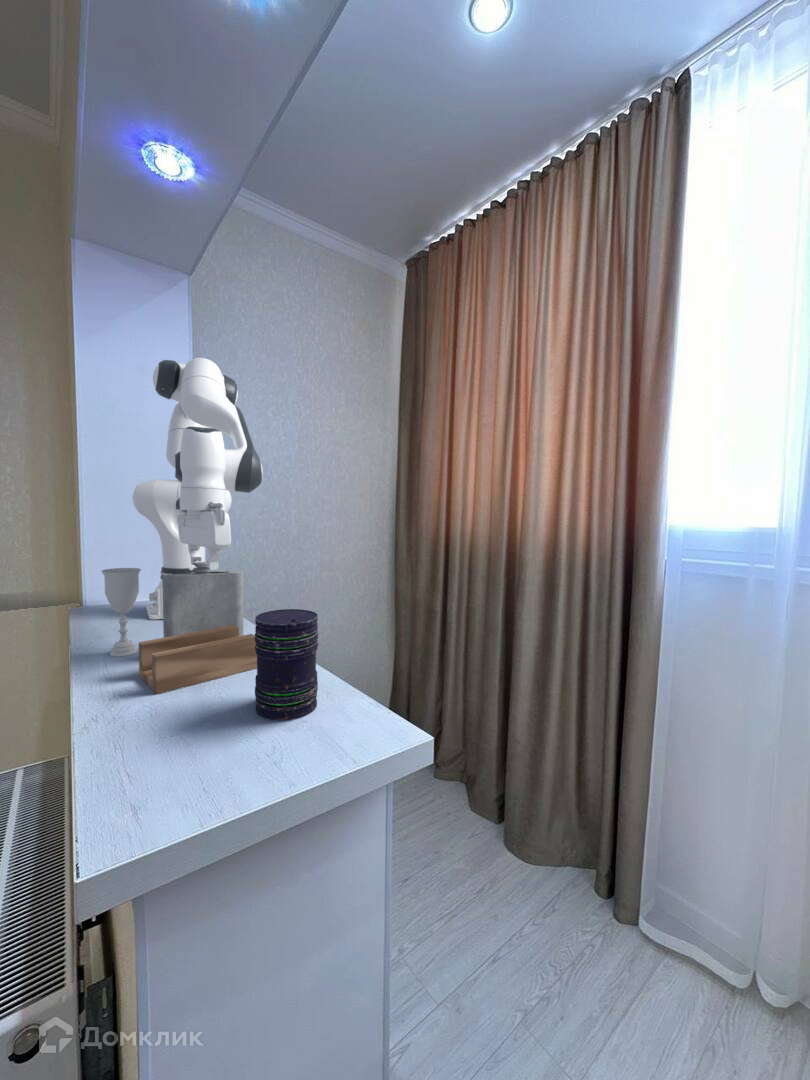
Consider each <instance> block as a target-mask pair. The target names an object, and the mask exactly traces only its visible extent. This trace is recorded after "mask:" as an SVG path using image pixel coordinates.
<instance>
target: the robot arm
mask: <svg viewBox="0 0 810 1080" xmlns="http://www.w3.org/2000/svg"><path fill="white" fill-rule="evenodd" d="M152 381H153V386H154V390H155V392H156V393H157V395H159V396H160V397H162V398H164V399H167V400H172V401H176V402H178V403H177V404H175V406H174V408H173V411H172V413H171V417H170V420H169V425H168V431H167V441H166V442H167V443H166V452H165V457H166V459H167V462H168V463H169V465H171V467H173V468H174V469H175V472H174V478H176V479H154V480H153V479H151V480H146V481H141V482H139V483H138V484H137V485H136V487H135V488H134V490H133V492H132V504H133V506H134V509H135V510H136V511H137V512H138V513H139V514H140V515H141V516H143V517H144V518H146V519H147V520H148V521H149V522H150V523H151V524H152V525H153V527H154V528H155V530H156V532H157V534H158V536H159V539H160V542H161V544H160V545H161V551H162V567H161V571H160V576H159V577H160V581H159V583H158V585H157V586H156V588H155V590H154V591H153V592H150V593H149V595H148V600H149V601H150V602H153V604H149V605H148V604H147V605H146V606H145V607H146V608H145V610H146V614H147V617H148V619H149V620H163V579H162V576H164V575H173V574H185V573H197V572H196V568H197V567H195V562H207V568H208V569H210V570H219V560H220V558H221V555H222V550H223V549H230V547H231V544H232V531H231V529H232V528H231V521H230V515H229V513H228V512H229V511H230V510H231V506H232V502H233V499H232V494H231V492H230V491H233V492H234V491H235V492H238V493H239V492H240V493H247V494H249V493H251V492H253V491H254V490H256V489H257V488H258V487H260V485H261V484H262V482H263V481H262V480H263V475H264V471H263V464H262V462H261V459H260V456H259V455H258V453H257V451H256V449H255V446H254V443H253V440H252V437H251V435H250V431H249V428H248V425H247V422H246V419H245V417H244V415H243V413H242V410H241V409H240V407H238V406H236V404H237V401H238V400H239V399H238V397H239V391H238V384H237V383H236V381H235V380H234V379H233V378H231V377H229V376H228V375H225V374H223V373H222V371H221V369H220V367H219V366H218V365H217V363H215V362H214V361H212V360H211V359H208V358H205V357H195V358H194V357H193V358H192V359H190V360H188V362H187V363H182V362H176V360H172V359H171V360H170V359H163V360H161V361H159V362H158V364H157V365H156V366H155V369H154V370H153V373H152ZM223 434H225V435H227V436H228V437H230V438H231V441H232V445H233V447H234V449H226V448H225V442H224V437H223ZM206 548H207V549H208V550H207V551H208V560H206Z"/></svg>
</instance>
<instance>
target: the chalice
mask: <svg viewBox="0 0 810 1080" xmlns="http://www.w3.org/2000/svg"><path fill="white" fill-rule="evenodd" d="M141 570H142V569H141V568H138V567H119V568H118V567H116V568H107V569H106V568H105V569H102V570H101V573H102V575H103V576H104V594H105V597H106V599H107V601H108V603H109V605H110V606H111V608H112V609H113V611H114V612H115V613H117V614H119V617H120V618H119V621H118V624H119V625H120V626H119V627H120V628H119V630H118V633H120V638H119V640H118V641H116V642H115V643H114V644H113V645H112V646H113V647H112V648H111V652H110V653H109V656H110V657H126V656H130V655H134V654H136V653H137V652H138V649H137V648H136V645H135V644H134V643H135V642H133V641H132V640H129V639H128V638H127V632H128V631H129V629H128V628H127V627H126V625H127V623H128V620H127V618H126V615H127V613H129V612H131V610H132V609H133V606H134V604H135V602H136V601H137V599H138V598H137V597H138V595H139V592H140V584H139V583H140V582H139V578H140V577H139V574H140V572H141Z"/></svg>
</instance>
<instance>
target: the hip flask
mask: <svg viewBox="0 0 810 1080" xmlns="http://www.w3.org/2000/svg"><path fill="white" fill-rule="evenodd" d="M195 567H197V568H196V572H197V573H185V574H173V575H164V576H162V579H163V619H162V620H163V621H162V623H163V625H162V626H163V638H165V637H170V636H176V635H181V634H187V633H193V632H198V631H204V630H209V629H215V628H221V627H226V626H232V625H234V626H237V627H239V636H243V635H244V571H242V570H229V569H216V570H210V569H208V568H207V561H205V562H195Z"/></svg>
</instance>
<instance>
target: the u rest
mask: <svg viewBox="0 0 810 1080" xmlns="http://www.w3.org/2000/svg"><path fill="white" fill-rule="evenodd" d="M138 667H139V669H138V670H139V677H140V679H142V680H143V682H145V683H147V684H148V685H149V686H150V687H151V688H152V689H151V688H150V687H149V686H148V685H147V684H146V685H147V686H148V687H149V688H150V689H151V690H152V691H153V692H154V693H155V694H156V695H161V694H164V693H167V692H166V691H168V692H170V691H169V690H172V691H174V690H173V689H176V690H178V688H180V689H183V688H182V687H184V688H187V687H190V685H191V686H194V684H195V685H198V683H199V684H202V682H203V683H206V682H205V681H207V682H210V680H211V681H213V680H217V679H222V678H224V677H230V676H233V674H234V675H237V674H236V673H238V674H240V672H241V673H245V672H248V670H249V671H252V669H253V670H257V669H256V668H257V654H256V652H255V634H253V633H249V634H243V636H239V627H237V626H234V625H232V626H226V627H221V628H215V629H209V630H204V631H198V632H193V633H187V634H181V635H176V636H170V637H165V638H164V637H160V638H154V639H149V640H142V641H138ZM244 671H245V672H244ZM229 675H230V676H229ZM186 686H187V687H186ZM163 692H164V693H163Z"/></svg>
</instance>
